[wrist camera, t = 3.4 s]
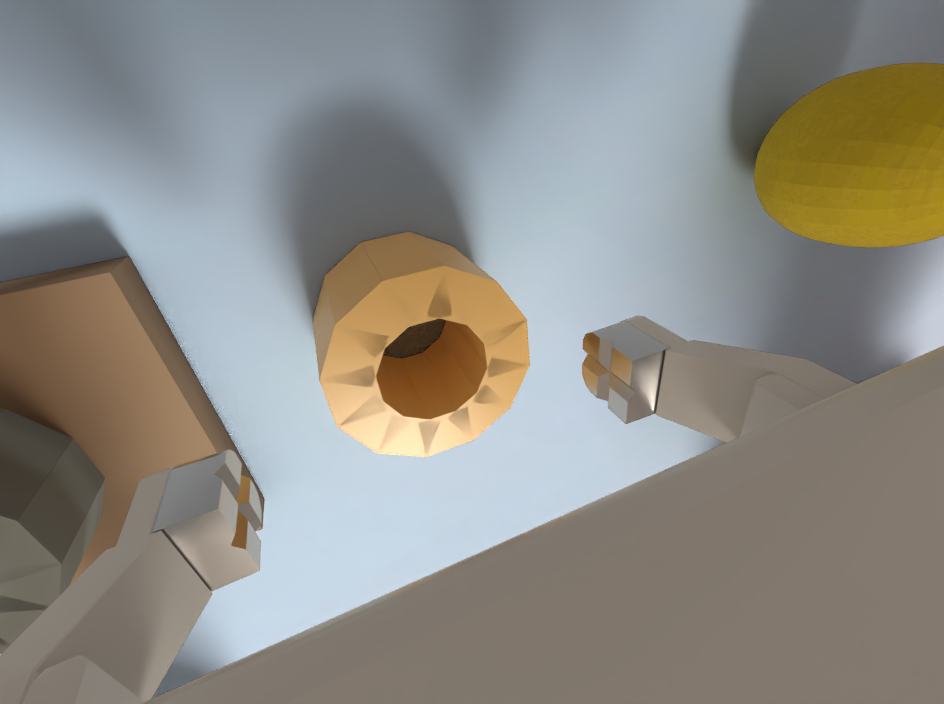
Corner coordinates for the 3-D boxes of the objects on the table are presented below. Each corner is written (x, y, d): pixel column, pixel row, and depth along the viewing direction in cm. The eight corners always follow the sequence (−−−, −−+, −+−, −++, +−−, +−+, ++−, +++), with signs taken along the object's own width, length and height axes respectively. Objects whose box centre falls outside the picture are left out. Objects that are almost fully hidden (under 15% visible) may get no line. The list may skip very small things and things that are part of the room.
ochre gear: (470, 217, 15) (521, 246, 11) (488, 363, 18) (533, 418, 15) (290, 257, 13) (290, 303, 10) (344, 408, 16) (357, 481, 13)
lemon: (802, 195, 20) (1057, 234, 13) (704, 239, 19) (925, 305, 12) (823, 55, 17) (1168, 14, 10) (708, 100, 16) (1003, 88, 9)
